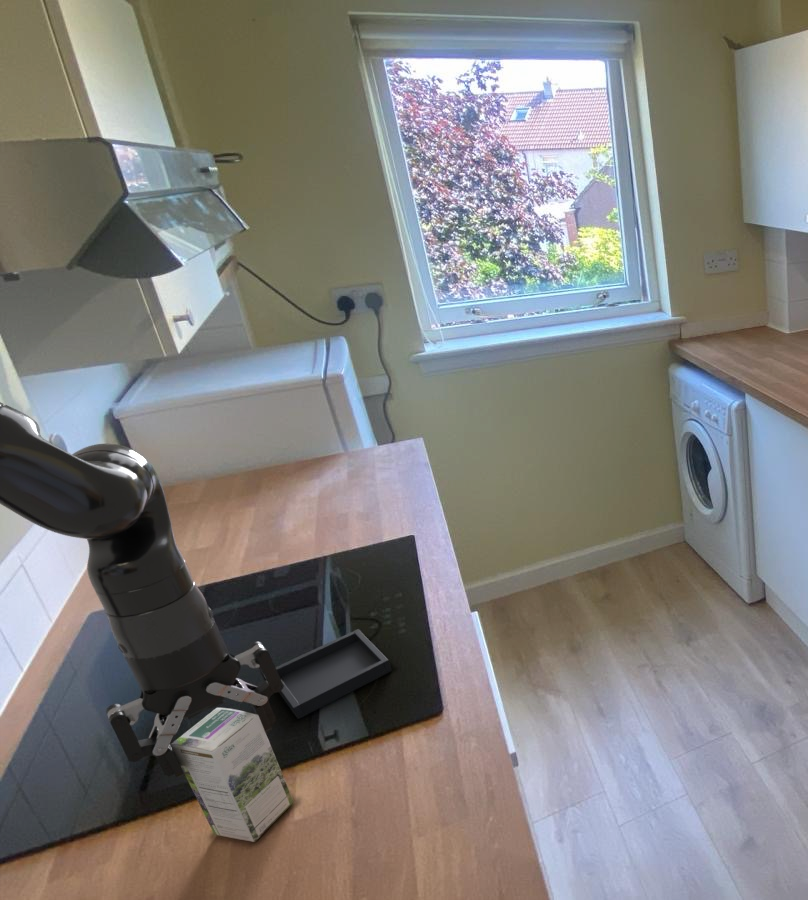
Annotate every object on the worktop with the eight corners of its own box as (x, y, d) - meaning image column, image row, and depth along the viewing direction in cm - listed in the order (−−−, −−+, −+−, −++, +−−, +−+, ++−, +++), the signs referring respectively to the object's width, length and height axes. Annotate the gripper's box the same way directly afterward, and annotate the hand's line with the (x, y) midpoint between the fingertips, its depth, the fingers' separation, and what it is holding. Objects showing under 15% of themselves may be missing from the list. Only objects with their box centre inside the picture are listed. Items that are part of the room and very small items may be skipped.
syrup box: (256, 795, 90) (214, 704, 84) (297, 802, 89) (257, 711, 83) (213, 836, 85) (165, 742, 79) (256, 844, 84) (211, 750, 78)
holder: (298, 719, 101) (293, 707, 100) (271, 682, 108) (266, 671, 107) (392, 671, 110) (388, 659, 109) (361, 639, 117) (358, 628, 116)
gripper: (239, 587, 82) (284, 698, 89) (70, 652, 73) (136, 772, 79) (259, 612, 78) (306, 727, 85) (82, 686, 68) (151, 809, 75)
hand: (223, 749), depth 82 cm, fingers closed on syrup box, 8 cm apart
